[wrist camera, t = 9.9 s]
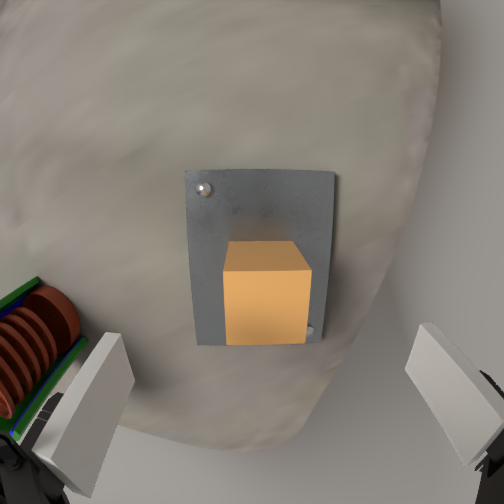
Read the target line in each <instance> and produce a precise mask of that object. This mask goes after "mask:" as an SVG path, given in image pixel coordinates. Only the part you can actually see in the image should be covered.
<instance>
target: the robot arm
mask: <svg viewBox="0 0 504 504" xmlns="http://www.w3.org/2000/svg"><path fill="white" fill-rule="evenodd" d="M405 371H406V372H407V374H408V375H409V377H410V378H411V380H412V381H413V383H414V384H415V386H416V387H417V389H418V390H419V392H420V393H421V395H422V396H423V398H424V400H425V401H426V403H427V404H428V406H429V407H430V409H431V411H432V412H433V414H434V415H435V417H436V419H437V420H438V422H439V424H440V425H441V427H442V428H443V430H444V432H445V433H446V435H447V437H448V438H449V440H450V442H451V444H452V445H453V447H454V449H455V450H456V452H457V454H458V456H459V457H460V459H461V460H462V462H463V464H464V466H467V465H469V464H471V463H472V462H474V461H476V460H477V459H478V458H479V457H480V456H481V455H482V454H483V453H484V452H485V451H487V453H488V454H487V455H486V456H485V457H484V459H483V460H482V461H481V462H480V463H479V464H478V465H477V466H476V468H475V471H477V470H478V469H479V468H480V467H481V466H482V465H483V467H482V468H481V469H480V471H481V472H482V476H481V481H480V486H479V490H478V495H477V498H476V502H475V504H504V392H503V391H501V389H500V388H499V386H498V385H496V383H495V382H494V381H493V379H492V378H491V377H490V376H489V375H487V374H486V373H484V372H482V371H481V370H480V371H479V370H478V369H477V368H476V367H475V366H474V365H473V364H472V363H471V362H470V361H469V359H468V358H467V357H466V356H465V355H464V354H463V353H462V352H461V351H460V350H459V349H458V348H457V347H456V346H455V345H454V344H453V342H451V340H449V338H448V337H447V336H446V335H445V334H444V333H443V332H442V331H441V330H440V329H439V328H438V327H437V326H436V325H435V324H434V323H433V322H428V323H422V324H420V326H419V329H418V332H417V335H416V338H415V342H414V345H413V348H412V351H411V353H410V356H409V359H408V362H407V364H406V367H405ZM134 383H135V379H134V376H133V373H132V369H131V366H130V363H129V360H128V357H127V353H126V350H125V346H124V343H123V339H122V335H121V334H119V333H109V332H106V333H105V334H104V335H103V337H102V338H101V340H100V341H99V342H98V344H97V345H96V347H95V348H94V350H93V351H92V353H91V354H90V355H89V357H88V358H87V360H86V361H85V363H84V364H83V366H82V367H81V369H80V370H79V372H78V373H77V375H76V376H75V378H74V380H73V381H72V383H71V384H70V386H69V387H68V389H67V390H66V392H65V394H62V393H59V392H57V393H56V394H55V395H53V396H52V397H51V398H50V399H48V401H47V402H46V404H45V405H44V407H43V408H42V411H41V412H40V413H39V415H38V416H37V417H38V418H37V419H36V420H35V421H34V423H33V424H32V426H31V428H30V429H29V431H28V433H27V434H26V436H25V438H24V440H23V441H22V443H21V445H20V446H19V445H18V444H17V443H16V441H15V440H14V439H13V438H12V437H11V436H10V435H9V433H6V432H4V431H0V504H70V503H69V501H68V498H67V496H66V494H65V492H64V491H63V488H64V485H66V486H67V487H68V488H69V489H70V490H71V491H72V492H75V493H77V494H80V495H83V496H86V497H88V498H91V495H92V493H93V490H94V487H95V484H96V481H97V478H98V475H99V472H100V469H101V467H102V464H103V461H104V458H105V456H106V453H107V450H108V447H109V445H110V442H111V439H112V437H113V434H114V432H115V429H116V427H117V424H118V422H119V419H120V417H121V414H122V412H123V409H124V407H125V404H126V402H127V399H128V397H129V395H130V392H131V390H132V388H133V385H134Z"/></svg>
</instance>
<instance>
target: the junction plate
mask: <svg viewBox="0 0 504 504" xmlns="http://www.w3.org/2000/svg"><path fill="white" fill-rule="evenodd" d="M334 174H335V172H330V171H311V170H277V169H232V170H199V171H185V190H186V216H187V235H188V251H189V266H190V278H191V290H192V301H193V311H194V320H195V329H196V338H197V345H224V346H240V345H227V343H226V325H225V306H224V283H223V269H224V264H225V259H226V254H227V249H228V244H229V241H293V242H294V244H295V245H296V247H297V248H298V250H299V251H300V253H301V254H302V256H303V257H304V259H305V261H306V262H307V264H308V265H309V267H310V268H311V270H312V275H311V288H310V300H309V311H308V321H307V331H306V340H305V343H316V342H321V337H322V330H323V322H324V314H325V306H326V297H327V288H328V278H329V267H330V255H331V241H332V226H333V206H334ZM298 344H300V343H298ZM277 345H281V344H277Z"/></svg>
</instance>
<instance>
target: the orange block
mask: <svg viewBox="0 0 504 504" xmlns="http://www.w3.org/2000/svg"><path fill="white" fill-rule="evenodd" d="M311 275H312V270H311V268H310V267H309V265H308V264H307V262H306V261H305V259H304V257H303V256H302V254H301V253H300V251H299V250H298V248H297V247H296V245H295V244H294V242H293V241H229V244H228V249H227V254H226V259H225V264H224V269H223V283H224V306H225V325H226V343H227V345H277V344H298V343H305V340H306V331H307V321H308V311H309V300H310V288H311Z"/></svg>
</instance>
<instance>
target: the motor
mask: <svg viewBox="0 0 504 504" xmlns="http://www.w3.org/2000/svg"><path fill="white" fill-rule="evenodd" d="M38 282H40V281H39V279H38V276H37V277H35V278H33V279H31V280H30V281H28V282H27V283H25V284H24V285H22V286H20V287H19V288H17V289H16V290H14V291H13V292H11V293H10V294H8V295H7V296H5V297H4V298H2V299H1V300H0V431H4V432H6V433H9V435H10V436H11V437H12V438H13V439H14V440H15V441H18V440H19V439H20V438H21V436H22V435H23V433H24V431H25V430H26V428H27V426H28V425H29V424H30V422H31V421H32V419H33V418H34V416H35V414H36V413H37V412H38V410H39V409H40V407H41V406H42V404H43V403H44V401H45V400H46V398H47V397H48V395H49V394H50V393H51V391H52V390H53V388H54V387H55V386H56V384H57V383H58V381H59V380H60V379H61V377H62V376H63V375H64V373H65V372H66V371H67V369H68V368H69V367H70V365H71V364H72V363H73V361H74V360H75V359H76V357H77V356H78V355H79V353H80V352H81V351H82V349H83V348H84V347H85V346H86V344H87V342H88V339H86V338H85V337H83V338H82V339H81V338H80V339H79V341H78V342H77V343H76V344H75V345H74V347H73V348H70V347H71V346H72V345H73V344H74V342H75V341H76V340H77V339H78V337H79V335H80V321H79V317H78V314H77V312H76V310H75V308H74V306H73V305H72V303H71V302H70V301H69V299H68V298H67V297H66V296H65V295H64V294H63V293H62V292H60V291H59V290H57V289H56V288H54V287H51V286H41V287H39V288H37V289H36V290H34V291H33V292H32V293H30V290H31V288H32V287H33V286H34V285H35V284H37V283H38ZM53 314H54V315H55V316H56V319H55V318H54V317H53Z"/></svg>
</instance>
